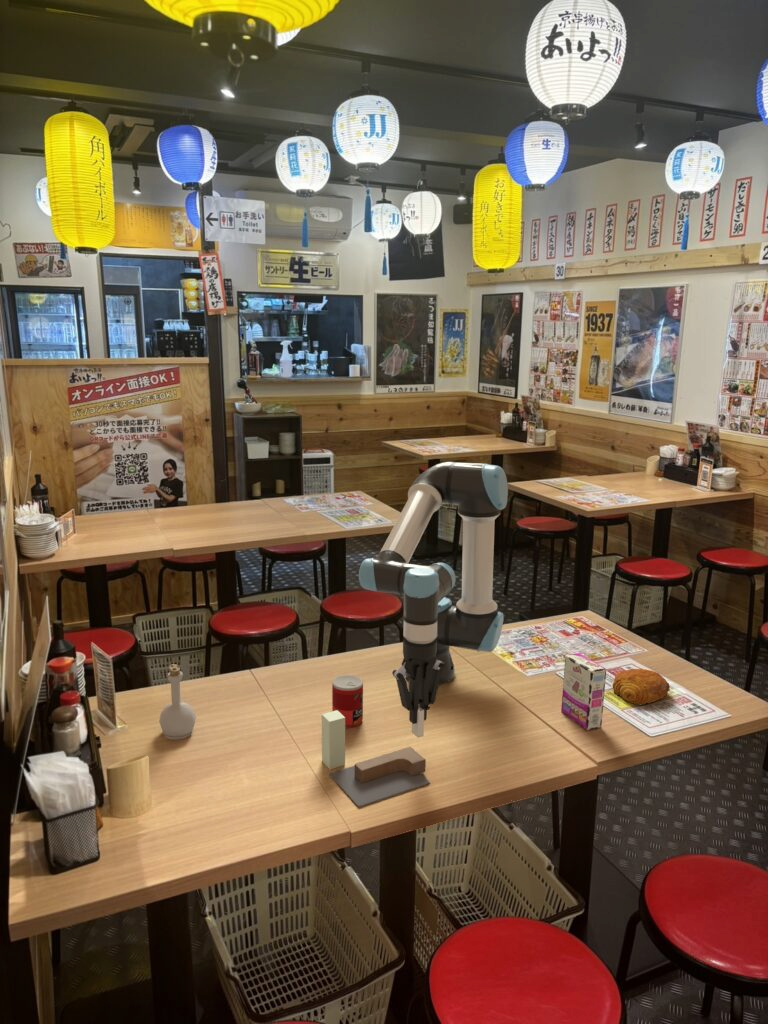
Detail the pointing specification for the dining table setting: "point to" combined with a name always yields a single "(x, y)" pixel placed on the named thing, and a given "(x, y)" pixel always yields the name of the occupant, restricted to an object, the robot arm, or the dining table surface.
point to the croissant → (640, 686)
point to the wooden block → (390, 765)
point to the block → (333, 739)
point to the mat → (376, 785)
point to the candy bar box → (583, 691)
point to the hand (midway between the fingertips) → (417, 734)
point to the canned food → (348, 699)
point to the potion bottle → (176, 710)
